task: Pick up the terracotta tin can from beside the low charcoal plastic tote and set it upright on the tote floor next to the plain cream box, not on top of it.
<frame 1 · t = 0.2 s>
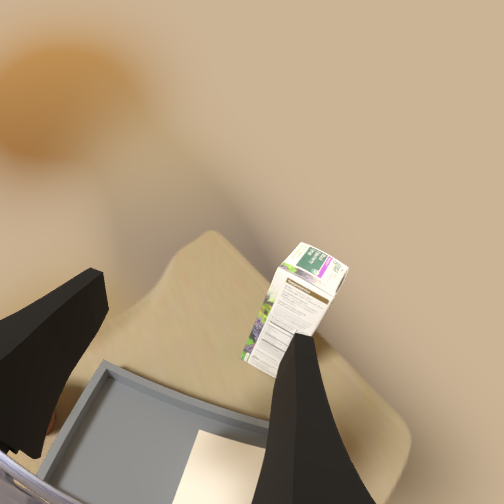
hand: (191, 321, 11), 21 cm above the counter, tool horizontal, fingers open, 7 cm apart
tote: (172, 477, 22), on the counter
plain cream box: (225, 492, 21), point 1 cm above the counter, touching tote
syrup box: (271, 357, 36), on the counter
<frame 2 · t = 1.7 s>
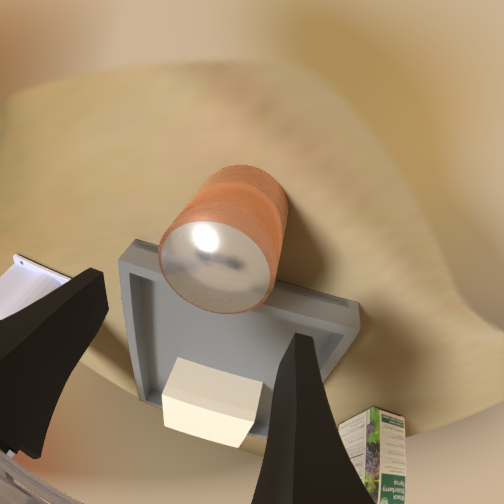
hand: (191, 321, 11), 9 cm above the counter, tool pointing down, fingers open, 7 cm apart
tote: (223, 358, 27), on the counter
plain cream box: (214, 390, 29), point 1 cm above the counter, touching tote
tin can: (243, 207, 18), on the counter
syrup box: (371, 419, 30), on the counter
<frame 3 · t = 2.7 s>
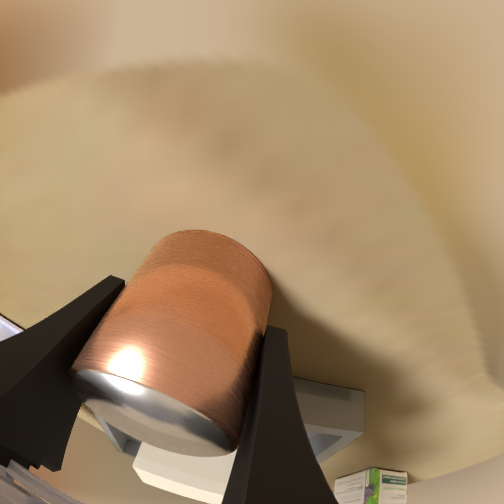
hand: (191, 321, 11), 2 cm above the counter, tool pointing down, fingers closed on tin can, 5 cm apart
tote: (201, 427, 21), on the counter
plain cream box: (195, 451, 23), point 1 cm above the counter, touching tote
tin can: (206, 286, 12), on the counter, touching gripper
syrup box: (371, 474, 24), on the counter
when the fingers open (4 cm above the counter, at t = 7.6 s): tin can drops 1 cm, resting on tote.
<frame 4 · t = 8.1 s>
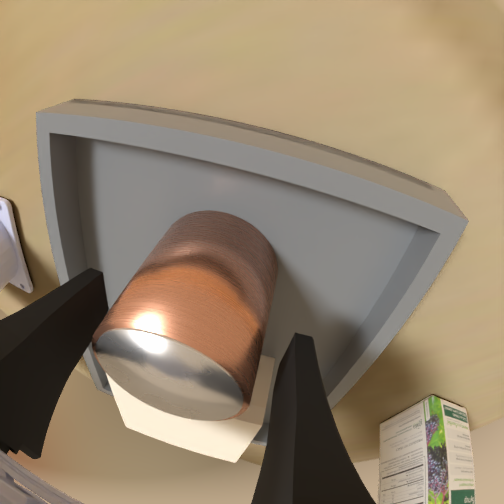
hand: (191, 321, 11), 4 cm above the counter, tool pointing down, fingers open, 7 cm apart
tote: (210, 318, 17), on the counter
plain cream box: (199, 373, 19), point 1 cm above the counter, touching tote
tin can: (217, 264, 14), point 1 cm above the counter, touching tote
syrup box: (423, 414, 20), on the counter
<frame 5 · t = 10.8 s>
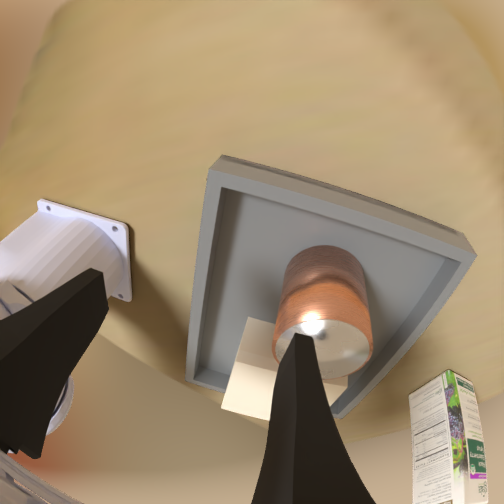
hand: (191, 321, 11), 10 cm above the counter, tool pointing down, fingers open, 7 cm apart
tote: (303, 316, 23), on the counter
plain cream box: (284, 359, 25), point 1 cm above the counter, touching tote
tin can: (324, 279, 20), point 1 cm above the counter, touching tote
syrup box: (440, 387, 26), on the counter
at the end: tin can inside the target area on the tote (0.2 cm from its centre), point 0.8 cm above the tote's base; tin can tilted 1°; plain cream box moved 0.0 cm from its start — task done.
